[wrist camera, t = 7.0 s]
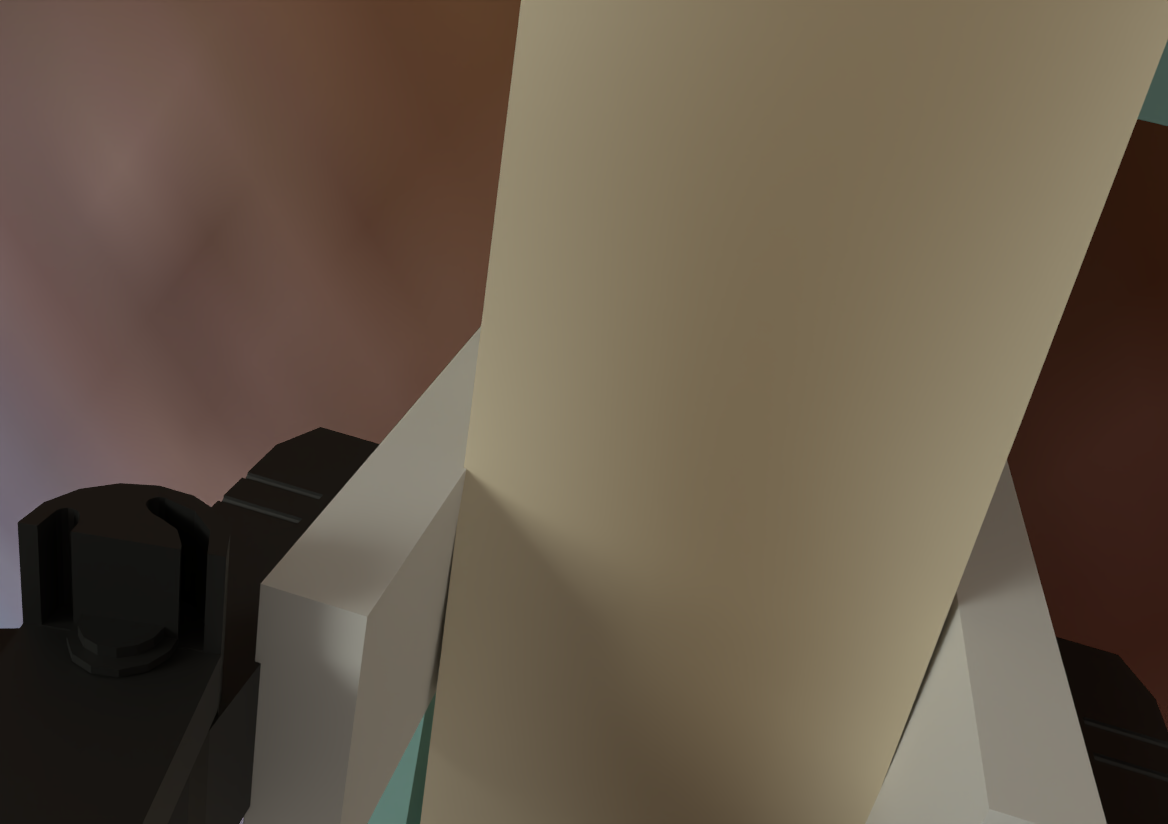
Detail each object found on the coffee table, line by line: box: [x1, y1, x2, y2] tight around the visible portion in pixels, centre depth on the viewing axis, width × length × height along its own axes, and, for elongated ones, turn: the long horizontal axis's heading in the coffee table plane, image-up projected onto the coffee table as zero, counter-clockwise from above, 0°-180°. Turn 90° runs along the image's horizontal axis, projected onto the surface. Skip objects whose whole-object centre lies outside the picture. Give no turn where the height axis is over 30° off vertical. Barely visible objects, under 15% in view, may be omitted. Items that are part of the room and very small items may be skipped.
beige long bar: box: [420, 0, 1168, 824], centre depth 12 cm, size 4×16×5 cm, turn 171°
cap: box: [367, 693, 436, 824], centre depth 18 cm, size 8×6×4 cm
